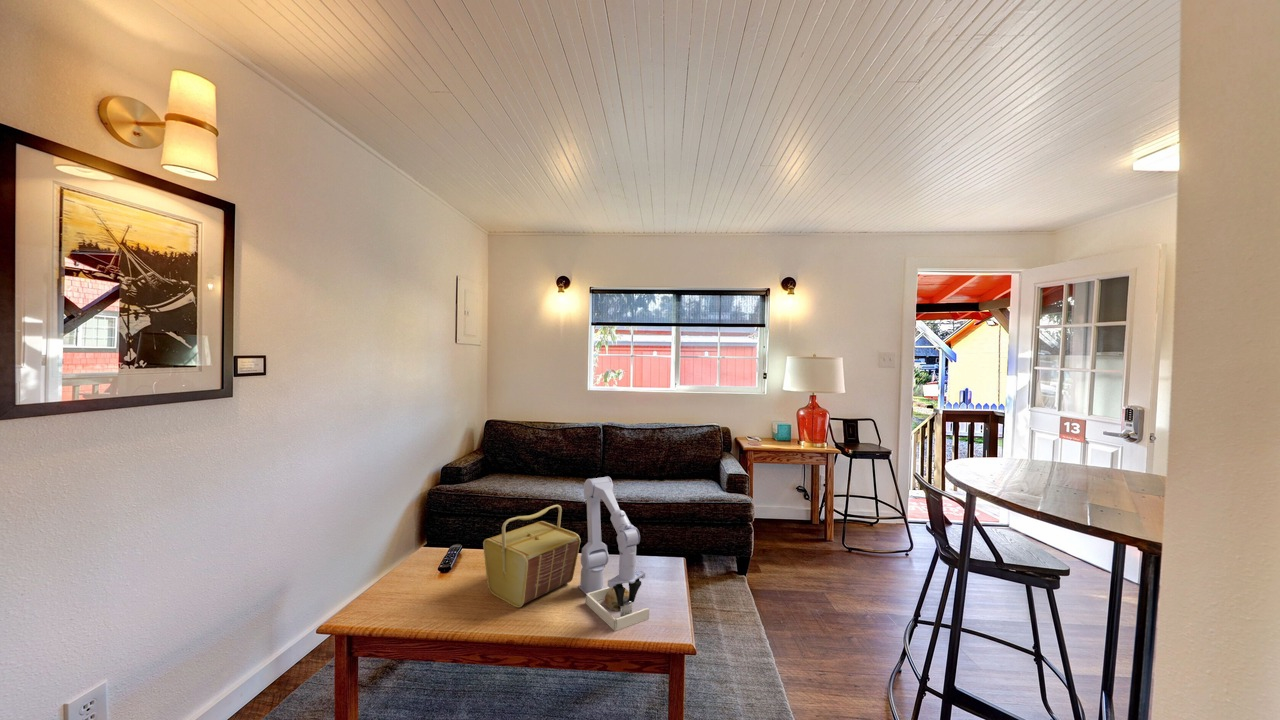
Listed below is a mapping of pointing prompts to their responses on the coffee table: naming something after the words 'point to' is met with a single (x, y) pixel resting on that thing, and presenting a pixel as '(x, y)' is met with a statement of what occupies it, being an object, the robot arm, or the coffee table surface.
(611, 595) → the bread roll
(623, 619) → the cream low open frame
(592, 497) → the robot arm
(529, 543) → the picnic basket
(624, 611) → the grey tin
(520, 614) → the coffee table surface
